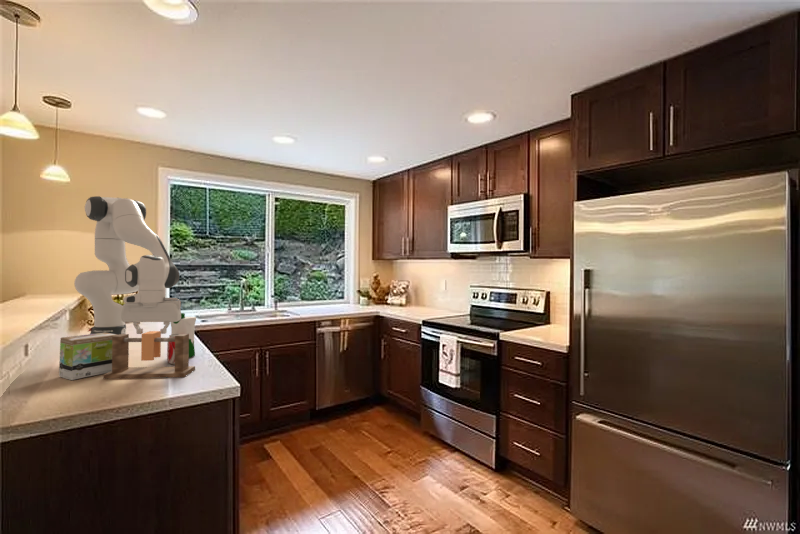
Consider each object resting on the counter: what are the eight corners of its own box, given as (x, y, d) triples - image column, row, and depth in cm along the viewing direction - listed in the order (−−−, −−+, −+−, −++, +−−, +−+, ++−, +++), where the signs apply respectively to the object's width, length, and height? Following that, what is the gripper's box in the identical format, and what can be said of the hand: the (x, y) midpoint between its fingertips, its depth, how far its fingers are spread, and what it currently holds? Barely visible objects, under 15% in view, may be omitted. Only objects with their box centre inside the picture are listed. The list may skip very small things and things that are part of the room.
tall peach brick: (141, 360, 145) (141, 333, 145) (149, 356, 151) (149, 331, 151) (152, 360, 146) (152, 333, 146) (160, 356, 152) (160, 331, 152)
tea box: (72, 381, 139) (72, 340, 139) (58, 377, 143) (58, 337, 143) (118, 371, 152) (118, 333, 152) (104, 367, 157) (105, 331, 157)
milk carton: (166, 358, 173) (167, 313, 173) (183, 354, 182) (183, 311, 182) (182, 360, 171) (183, 314, 171) (198, 355, 179) (199, 312, 179)
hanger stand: (103, 378, 142) (103, 337, 142) (119, 371, 152) (120, 333, 152) (184, 377, 145) (184, 337, 145) (195, 369, 155) (195, 332, 155)
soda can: (177, 365, 161) (177, 336, 161) (163, 364, 163) (163, 336, 163) (190, 361, 168) (190, 333, 168) (176, 360, 170) (176, 333, 170)
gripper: (184, 297, 153) (183, 332, 153) (128, 296, 150) (128, 332, 150) (177, 298, 146) (176, 334, 147) (118, 298, 144) (118, 335, 144)
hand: (151, 333), depth 148 cm, fingers open, 7 cm apart
